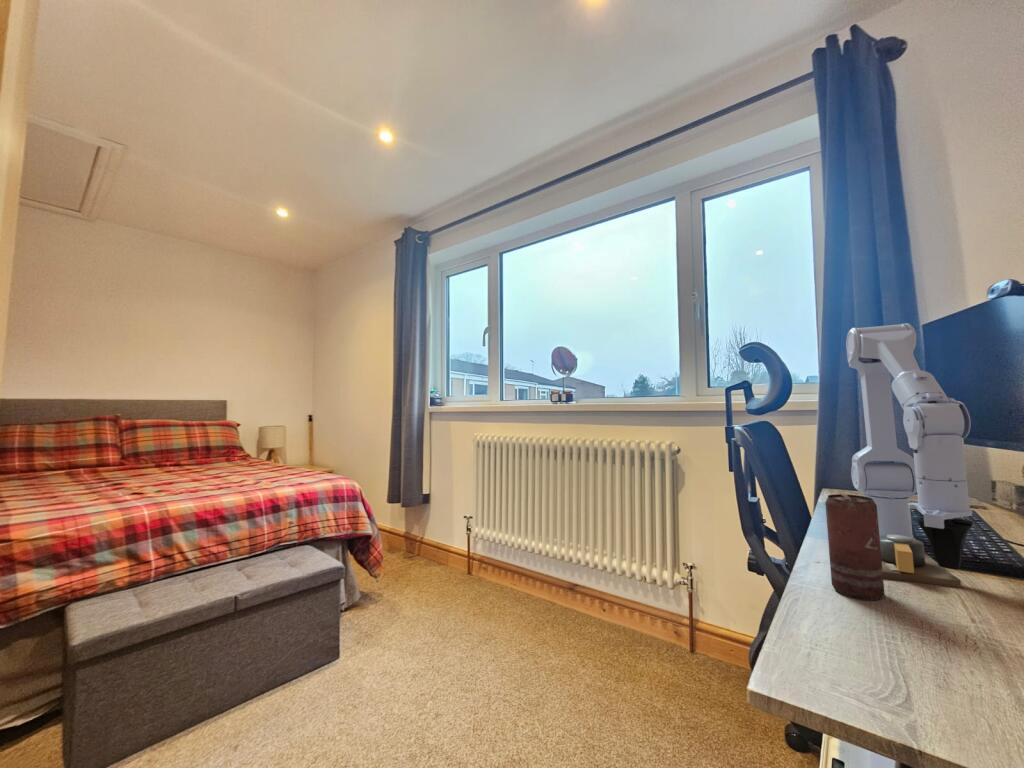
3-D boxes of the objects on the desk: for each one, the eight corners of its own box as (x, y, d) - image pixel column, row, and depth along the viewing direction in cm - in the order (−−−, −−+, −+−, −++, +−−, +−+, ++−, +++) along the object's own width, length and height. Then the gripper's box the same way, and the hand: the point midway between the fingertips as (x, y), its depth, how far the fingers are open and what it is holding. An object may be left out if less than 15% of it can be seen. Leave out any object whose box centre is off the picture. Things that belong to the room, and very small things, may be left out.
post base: (854, 551, 81) (854, 544, 81) (924, 558, 76) (924, 551, 76) (875, 577, 68) (875, 569, 69) (961, 587, 64) (960, 579, 64)
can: (863, 583, 66) (855, 492, 67) (896, 601, 60) (887, 500, 61) (822, 583, 67) (815, 492, 68) (849, 601, 60) (841, 501, 61)
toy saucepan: (876, 551, 77) (874, 530, 77) (922, 557, 73) (920, 535, 73) (881, 568, 69) (879, 545, 69) (932, 576, 65) (930, 551, 65)
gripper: (917, 471, 74) (925, 550, 73) (894, 481, 66) (902, 570, 65) (976, 475, 69) (985, 561, 68) (959, 486, 60) (969, 585, 59)
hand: (949, 567), depth 66 cm, fingers closed
